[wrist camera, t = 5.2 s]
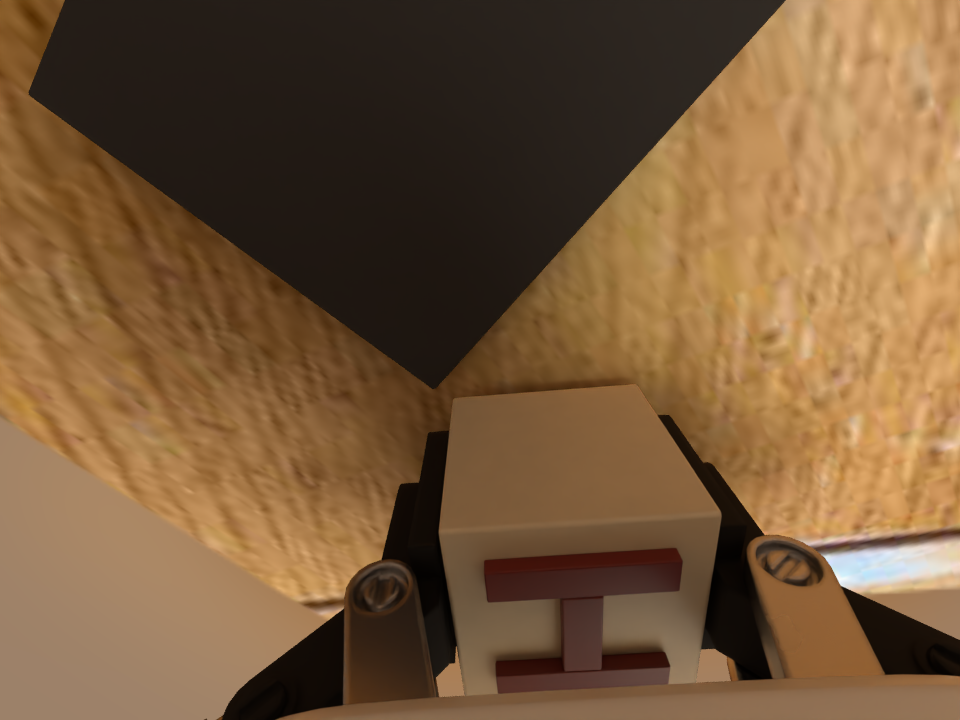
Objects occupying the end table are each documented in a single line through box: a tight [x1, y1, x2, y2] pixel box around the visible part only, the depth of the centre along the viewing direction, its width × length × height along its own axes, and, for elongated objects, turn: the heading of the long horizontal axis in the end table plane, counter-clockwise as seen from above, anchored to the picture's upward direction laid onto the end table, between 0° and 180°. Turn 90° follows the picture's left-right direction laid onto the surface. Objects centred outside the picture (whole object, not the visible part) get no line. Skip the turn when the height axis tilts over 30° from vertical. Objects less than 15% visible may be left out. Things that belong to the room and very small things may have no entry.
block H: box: [439, 384, 722, 696], centre depth 11 cm, size 5×5×5 cm
